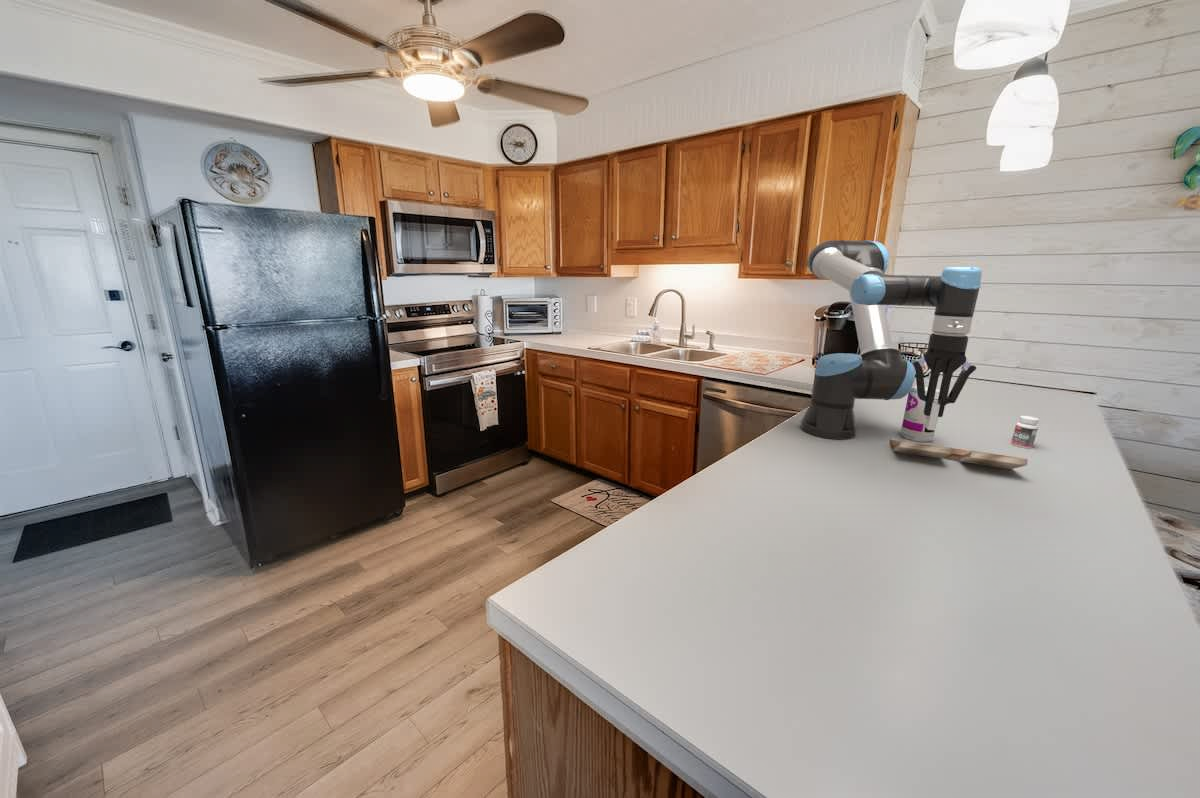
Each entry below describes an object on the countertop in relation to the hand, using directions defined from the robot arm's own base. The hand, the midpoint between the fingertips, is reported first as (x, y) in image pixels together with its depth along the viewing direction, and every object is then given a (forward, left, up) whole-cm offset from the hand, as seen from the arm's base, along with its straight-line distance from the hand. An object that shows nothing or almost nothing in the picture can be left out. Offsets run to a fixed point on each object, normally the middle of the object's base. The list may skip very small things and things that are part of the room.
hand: (930, 428), depth 120 cm
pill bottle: (+29, +30, -10) cm, 43 cm away
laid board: (+7, +10, -9) cm, 15 cm away
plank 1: (0, +3, -7) cm, 8 cm away
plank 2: (+15, +3, -7) cm, 17 cm away
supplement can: (+2, +23, -10) cm, 25 cm away
